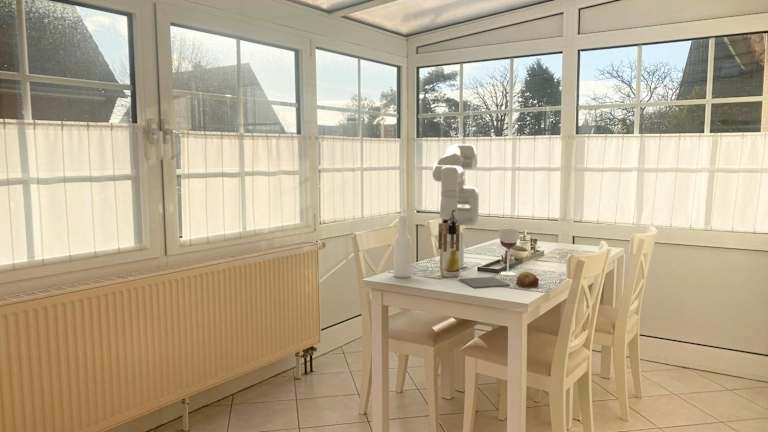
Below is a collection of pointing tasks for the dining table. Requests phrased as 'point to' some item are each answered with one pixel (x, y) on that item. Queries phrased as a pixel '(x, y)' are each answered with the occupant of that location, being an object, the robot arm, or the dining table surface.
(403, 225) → the alcohol
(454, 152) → the robot arm
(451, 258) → the juice carton
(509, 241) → the wineglass
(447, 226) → the stool
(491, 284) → the mat
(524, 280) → the bread roll
